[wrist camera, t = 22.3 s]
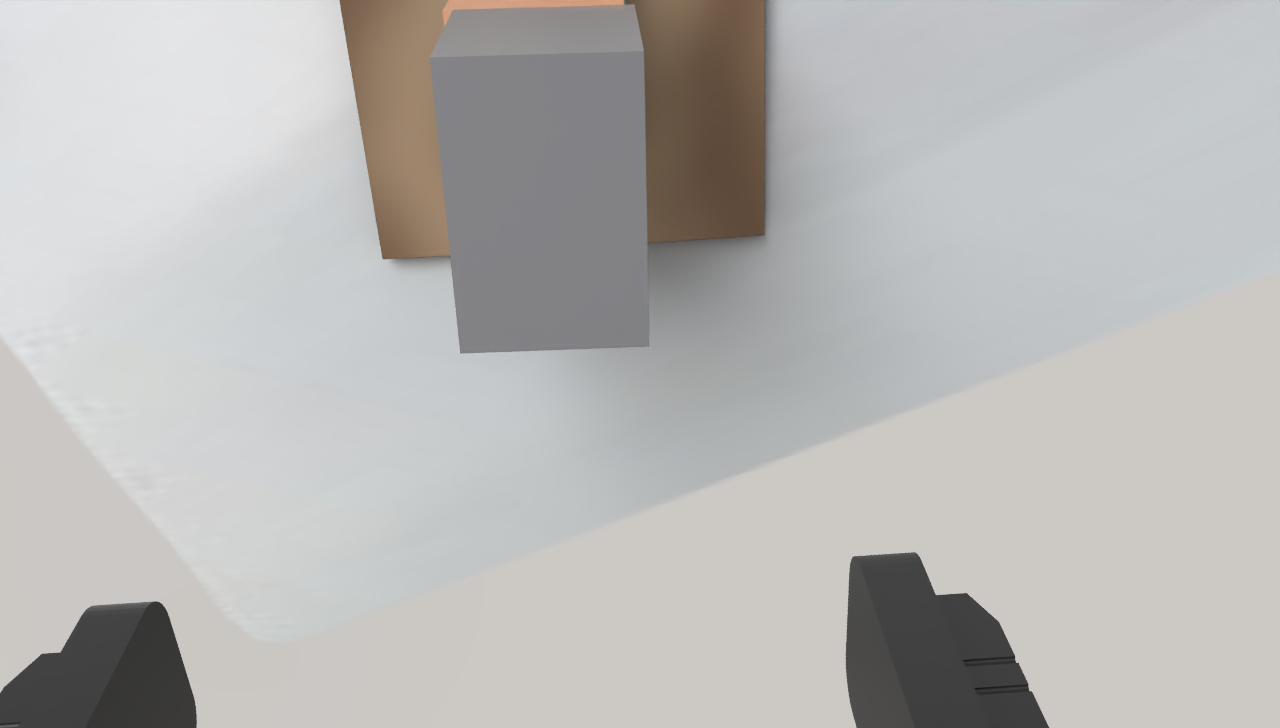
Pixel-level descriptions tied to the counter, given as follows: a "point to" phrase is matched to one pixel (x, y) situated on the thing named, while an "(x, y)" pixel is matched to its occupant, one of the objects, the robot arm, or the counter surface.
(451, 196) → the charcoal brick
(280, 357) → the counter surface
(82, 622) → the robot arm
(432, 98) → the plate
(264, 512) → the counter surface
